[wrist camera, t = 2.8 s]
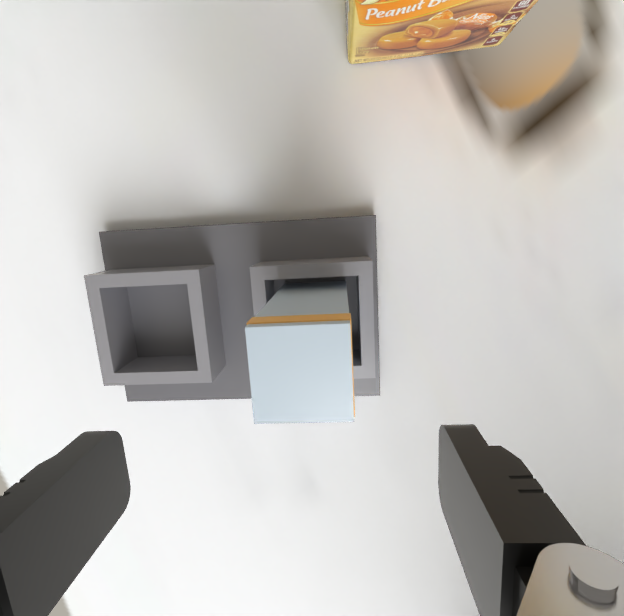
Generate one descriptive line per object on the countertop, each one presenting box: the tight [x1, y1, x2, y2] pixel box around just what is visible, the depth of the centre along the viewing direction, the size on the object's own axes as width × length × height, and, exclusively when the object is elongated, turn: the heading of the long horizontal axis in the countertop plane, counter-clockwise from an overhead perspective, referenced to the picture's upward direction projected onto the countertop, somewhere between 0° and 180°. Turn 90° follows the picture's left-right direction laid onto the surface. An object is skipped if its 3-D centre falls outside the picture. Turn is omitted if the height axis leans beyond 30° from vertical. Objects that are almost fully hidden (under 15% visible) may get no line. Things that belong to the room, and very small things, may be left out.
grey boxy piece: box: [84, 215, 380, 401], centre depth 25 cm, size 18×12×4 cm, turn 94°
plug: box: [245, 281, 355, 424], centre depth 21 cm, size 4×4×11 cm
